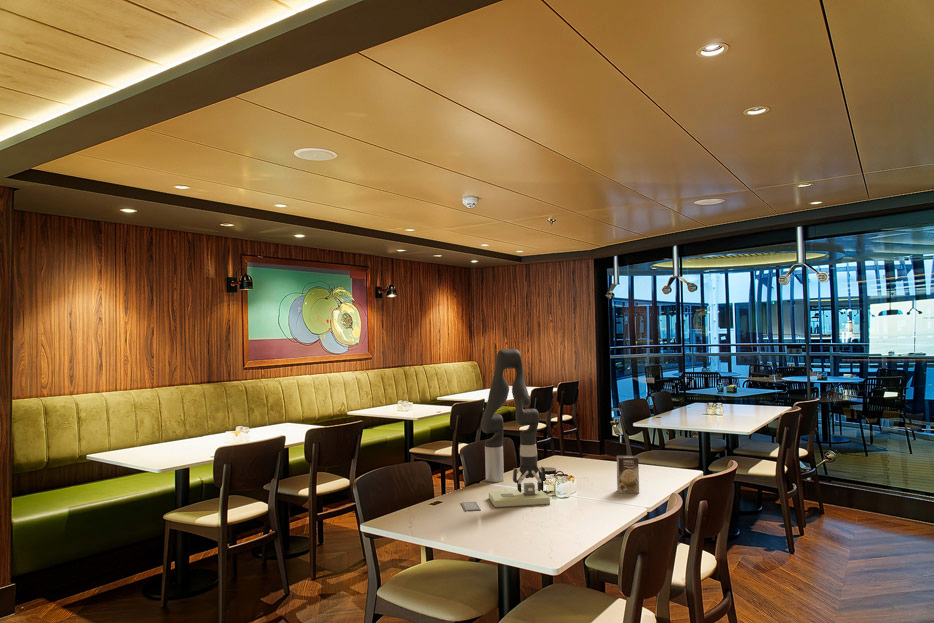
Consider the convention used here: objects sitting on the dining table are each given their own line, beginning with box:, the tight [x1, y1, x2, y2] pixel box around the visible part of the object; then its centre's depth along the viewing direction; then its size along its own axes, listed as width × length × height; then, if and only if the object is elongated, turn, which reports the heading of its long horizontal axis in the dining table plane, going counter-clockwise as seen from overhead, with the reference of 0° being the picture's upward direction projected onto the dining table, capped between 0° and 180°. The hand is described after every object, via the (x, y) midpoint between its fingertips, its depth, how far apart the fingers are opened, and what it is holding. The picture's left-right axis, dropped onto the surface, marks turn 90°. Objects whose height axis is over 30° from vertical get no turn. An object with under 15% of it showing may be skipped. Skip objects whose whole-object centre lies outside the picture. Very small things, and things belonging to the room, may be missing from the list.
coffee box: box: [616, 455, 640, 494], centre depth 278 cm, size 9×6×16 cm
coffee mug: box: [537, 466, 565, 491], centre depth 283 cm, size 12×9×10 cm
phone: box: [460, 501, 481, 512], centre depth 258 cm, size 13×7×1 cm, turn 9°
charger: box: [523, 482, 536, 496], centre depth 265 cm, size 4×4×7 cm
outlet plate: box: [488, 488, 551, 509], centre depth 265 cm, size 16×24×3 cm, turn 97°
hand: (529, 491), depth 265 cm, fingers open, 8 cm apart
